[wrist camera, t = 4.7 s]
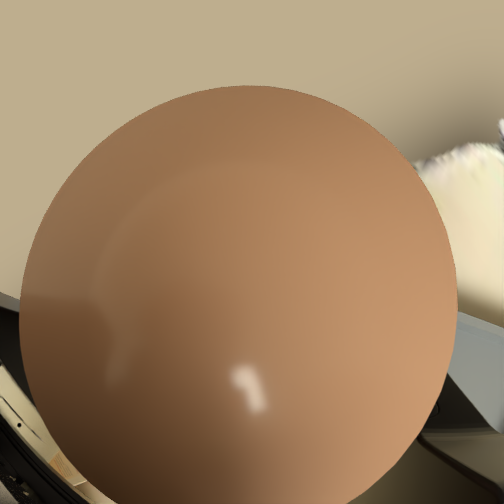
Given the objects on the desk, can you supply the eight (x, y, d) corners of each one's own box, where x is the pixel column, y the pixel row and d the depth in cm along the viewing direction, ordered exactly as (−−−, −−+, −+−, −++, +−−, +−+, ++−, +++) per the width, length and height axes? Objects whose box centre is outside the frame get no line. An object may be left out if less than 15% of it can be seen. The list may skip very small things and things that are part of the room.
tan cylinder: (320, 406, 13) (293, 591, 1) (226, 365, 15) (-6, 359, 3) (361, 309, 14) (477, 141, 2) (266, 274, 16) (131, 86, 4)
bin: (480, 479, 10) (493, 489, 8) (368, 461, 14) (372, 475, 12) (532, 348, 13) (550, 346, 10) (431, 311, 16) (445, 306, 14)
